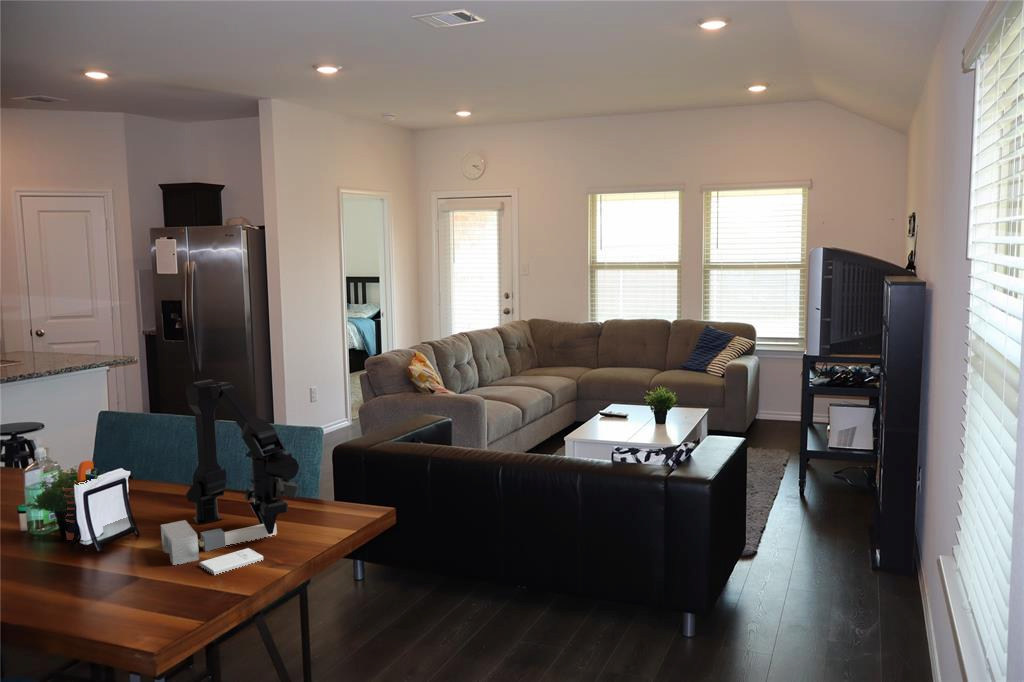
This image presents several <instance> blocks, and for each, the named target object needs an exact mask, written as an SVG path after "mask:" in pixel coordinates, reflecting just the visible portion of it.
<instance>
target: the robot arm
mask: <svg viewBox="0 0 1024 682" xmlns="http://www.w3.org/2000/svg"><path fill="white" fill-rule="evenodd" d="M185 395H186V399H187V405H188V406H189V408H190V409H191V410H192V411H193V413H194V418H195V419H194V421H195V430H196V431H195V433H196V435H195V436H196V447H197V449H196V450H197V461H198V463H197V467H196V468H195V471H194V473H193V475H192V485H191V486H190V487H189V489H188V491H187V492H186V493H185V495H186V496H185V497H186V498H187V499H186V500H187V502H190V503H194V504H195V516H192V520H193V521H194V522H195V523H196V524H197V525H203V524H207V523H214V522H217V520H218V521H222V520H223V518H222V517H221V515H220V514H219V510H218V509H219V508H218V497H223V496H224V495H225V489H226V486H227V483H228V480H227V470H226V469H225V468H222V466H221V465H220V463H218V449H217V434H216V420H215V419H216V418H215V411H216V409H217V408H218V406H219V403H220V404H221V406H222V407H223V408H224V409H225V410H226V412H227V413H228V415H230V417H231V418H232V419H233V421H234V422H235V423H236V424H237V426H239V428H240V429H241V437H242V440H243V441H244V443H245V445H246V446H247V448H248V449H249V451H248V452H247V453H246V454H245V456H246V457H247V458H251V470H252V477H250V482H251V483H252V484H253V486H252V487H248V488H246V489H245V491H244V492H243V493H244V499H245V500H246V501H247V502H249V501H250V500H251V501H250V502H249V503H248V504H249V506H250V508H251V509H252V511H253V514H254V515H255V517H256V519H257V520H258V523H259V525H260V524H264V526H265V528H266V530H267V532H268V534H272V533H273V530H274V526H275V523H276V522H277V521H276V520H277V517H278V515H280V514H284V513H287V512H289V503H287V502H286V501H285V500H284V499H282V496H287V497H291V498H296V497H297V495H298V494H297V493H298V491H299V485H298V484H297V483H295V482H293V481H290V480H293V479H294V478H296V476H297V475H298V473H299V468H300V466H299V465H300V464H299V463H298V461H297V459H296V458H294V457H293V455H292V452H287V451H286V450H287V449H286V447H285V443H284V442H283V441H282V440H281V438H280V436H279V434H278V432H277V430H276V429H275V427H274V426H273V425H272V424H270V423H269V422H268V420H267V421H266V420H265V419H262V418H260V417H258V416H257V415H256V414H255V413H254V411H253V410H252V409H251V408H250V406H249V405H248V404H247V403H246V402H245V400H244V399H243V398H242V397H241V396H240V395H239V393H238V392H237V391H236V389H235V386H234V383H232V382H228V381H226V382H225V381H222V382H220V381H219V382H218V381H217V382H216V381H215V380H213V379H207V380H206V379H205V380H199V381H195V382H191V383H189V384H188V386H186V390H185ZM221 519H222V520H221Z"/></svg>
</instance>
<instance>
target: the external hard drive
mask: <svg viewBox="0 0 1024 682" xmlns="http://www.w3.org/2000/svg"><path fill="white" fill-rule="evenodd" d="M261 560H262V561H264V556H263V555H262V554H260V553H259V552H256V551H255V550H254V549H251V548H249V547H247V548H244V549H240V550H237V551H234V552H230V553H226V554H222V555H220V556H216V557H214V558H209V559H206V560H203V561H200V562H199V567H200V566H201V567H200V568H202V569H203V568H204V569H203V570H205V569H206V570H207V571H206V570H205V571H206V572H208V571H209V572H208V573H210V572H211V573H212V574H211V573H210V574H211V575H213V574H214V575H213V576H217V575H216V574H218V575H220V574H219V573H221V574H223V573H222V572H224V573H226V572H225V571H227V572H230V571H229V570H231V571H233V570H232V569H234V570H236V569H235V568H237V569H240V568H243V567H246V566H249V565H248V564H250V565H252V564H251V563H253V564H255V562H256V563H258V562H257V561H259V562H262V561H261ZM245 565H246V566H245ZM242 566H243V567H242ZM239 567H240V568H239Z"/></svg>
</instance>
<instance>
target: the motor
mask: <svg viewBox="0 0 1024 682" xmlns="http://www.w3.org/2000/svg"><path fill="white" fill-rule="evenodd" d="M93 469H94V460H93V461H92V460H83V461H81V462H80V463H79V465H78V469H77V474H75V475H74V474H73V475H70V476H69V475H68V476H66V477H62V478H61V479H65V478H74V479H75V480H76V482H75V484H76V485H79V484H78V483H79V482H85V481H86V482H85V483H87V482H88V481H87V480H89V481H91V479H97V478H98V479H99V476H98V475H97V474H93V473H87V471H89V470H93ZM94 470H95V469H94ZM80 484H84V483H80ZM73 485H74V484H73ZM61 488H62V491H63V492H64V491H74V488H64V487H62V486H61ZM64 496H65V497H68V498H72V497H74V495H67V494H64ZM64 496H63V497H64ZM65 497H64V498H65ZM67 504H75V501H67ZM67 510H75V507H67ZM73 515H74V514H70V513H69V514H68V513H67V515H65V517H67V516H73ZM74 521H75V520H69V519H66V518H65V522H70V523H75V522H74ZM65 535H66V541H68V540H73V538H74V533H69V532H67V531H66V530H65Z"/></svg>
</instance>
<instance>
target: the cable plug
mask: <svg viewBox="0 0 1024 682" xmlns="http://www.w3.org/2000/svg"><path fill="white" fill-rule="evenodd" d="M277 530H278V529H277V523H276V522H275V526H274V530H273V533H272V534H268V532H267V530H266V528H265V526H264V524H260V523H259V524H257V525H251V526H247V527H243V528H242V527H241V528H238V529H233V530H229V531H224V530H223V529H222V528H221V527H219V528H215V529H211V530H205V531H202V532H199V533H200V539H198V547H201V548H203V549H204V550H205V551H208V552H211V551H210V550H213V549H217V548H221V547H225V546H226V545H230V544H235V545H237V544H236V543H239V544H241V543H240V542H244V543H246V542H245V541H248V542H251V540H252V541H256V540H255V539H257V540H260V538H261V539H265V538H264V537H266V538H269V537H268V536H270V537H273V536H272V535H275V536H277V535H278V531H277ZM276 534H277V535H276ZM230 546H231V545H230ZM226 547H227V546H226ZM203 549H202V550H203ZM221 549H222V548H221ZM204 550H203V551H204ZM217 550H218V549H217ZM205 551H204V552H205ZM213 551H214V550H213Z"/></svg>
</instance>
